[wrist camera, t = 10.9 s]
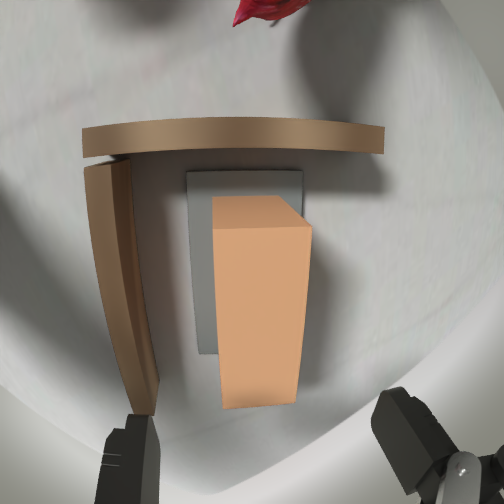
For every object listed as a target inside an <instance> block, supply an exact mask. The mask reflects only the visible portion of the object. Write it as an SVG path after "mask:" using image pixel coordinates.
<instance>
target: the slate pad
mask: <svg viewBox="0 0 504 504" xmlns="http://www.w3.org/2000/svg"><path fill="white" fill-rule="evenodd" d="M186 175H187V203H188V225H189V243H190V259H191V273H192V287H193V299H194V311H195V321H196V332H197V342H198V351H199V354H218V353H219V350H218V334H217V317H216V299H215V278H214V254H213V217H212V197H222V196H280V197H281V198H282V199H283V200H284V201H285V202H286V203H287V204H288V205H290V206H291V207H292V208H293V209H294V210H295V211H296V212H297V213H298V214H299V215H300V216H301V213H302V189H303V171H302V170H221V171H190V172H186Z"/></svg>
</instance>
